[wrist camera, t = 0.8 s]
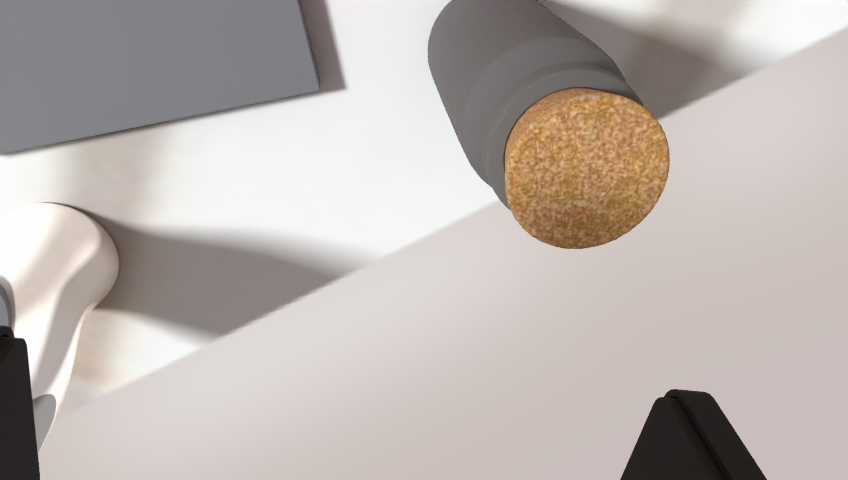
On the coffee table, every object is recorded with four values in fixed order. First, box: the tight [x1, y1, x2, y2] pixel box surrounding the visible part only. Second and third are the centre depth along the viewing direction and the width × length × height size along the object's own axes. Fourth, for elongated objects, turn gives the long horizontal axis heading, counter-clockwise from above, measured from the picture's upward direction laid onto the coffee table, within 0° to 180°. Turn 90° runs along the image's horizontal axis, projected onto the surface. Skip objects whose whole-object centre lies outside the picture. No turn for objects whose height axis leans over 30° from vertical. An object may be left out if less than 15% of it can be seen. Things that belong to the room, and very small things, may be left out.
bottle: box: [428, 0, 669, 249], centre depth 26 cm, size 6×6×15 cm
